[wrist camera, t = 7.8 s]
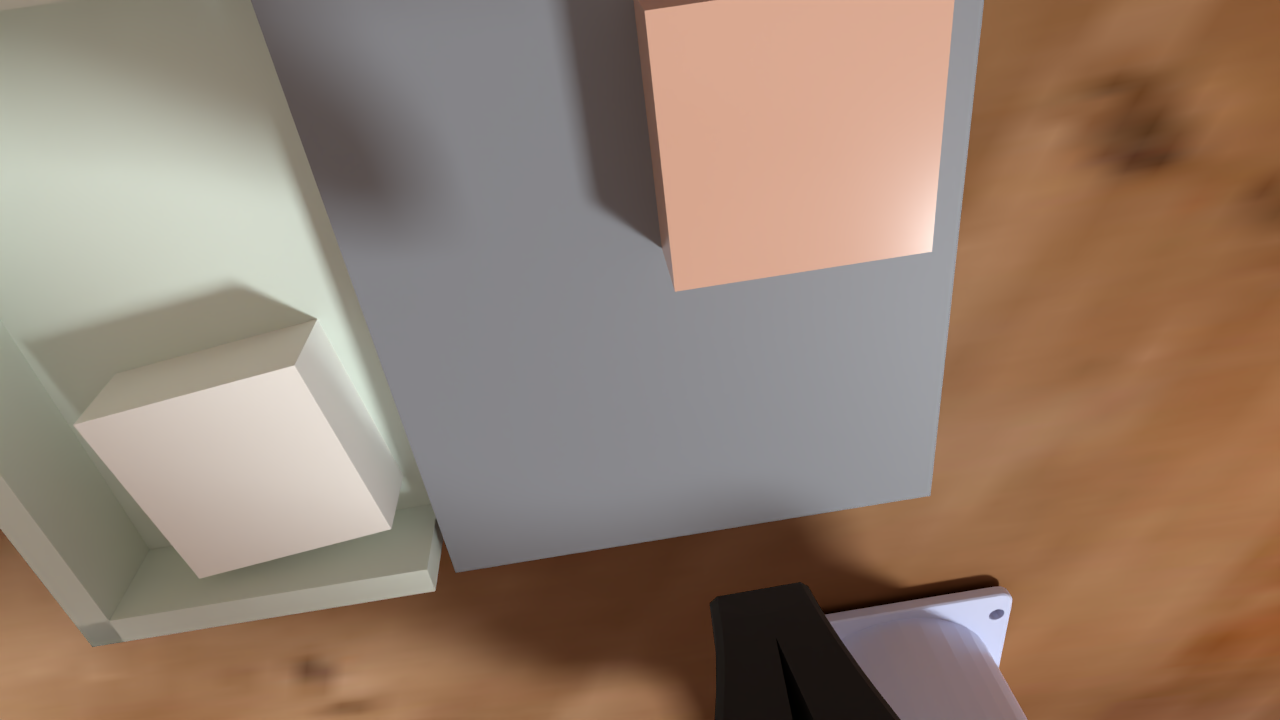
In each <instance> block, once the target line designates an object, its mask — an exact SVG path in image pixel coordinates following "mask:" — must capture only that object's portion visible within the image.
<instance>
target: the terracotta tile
mask: <svg viewBox="0 0 1280 720" xmlns="http://www.w3.org/2000/svg"><path fill="white" fill-rule="evenodd" d="M633 1H634V10H635V19H636V28H637V36H638V45H639V54H640V63H641V71H642V80H643V89H644V97H645V106H646V115H647V124H648V132H649V141H650V150H651V158H652V167H653V176H654V185H655V193H656V202H657V211H658V220H659V228H660V237H661V246H662V251H663V254H664V257H665V261H666V264H667V267H668V270H669V274H670V277H671V280H672V284H673V287H674V290H675V292H677V291H683V290H689V289H696V288H702V287H709V286H715V285H721V284H728V283H734V282H741V281H747V280H754V279H760V278H766V277H773V276H779V275H786V274H792V273H799V272H805V271H811V270H818V269H824V268H831V267H837V266H844V265H850V264H856V263H863V262H869V261H876V260H882V259H888V258H895V257H901V256H908V255H914V254H921V253H927V252H932V246H933V235H934V223H935V212H936V201H937V190H938V179H939V168H940V157H941V145H942V134H943V123H944V112H945V101H946V90H947V79H948V67H949V56H950V45H951V34H952V23H953V12H954V1H955V0H633Z"/></svg>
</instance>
